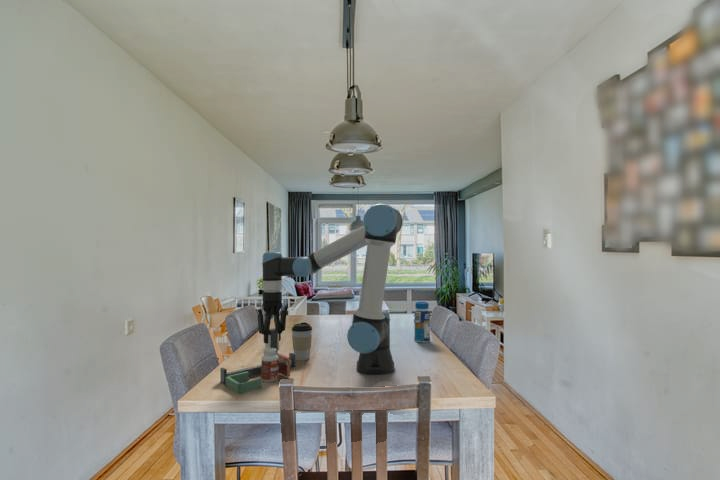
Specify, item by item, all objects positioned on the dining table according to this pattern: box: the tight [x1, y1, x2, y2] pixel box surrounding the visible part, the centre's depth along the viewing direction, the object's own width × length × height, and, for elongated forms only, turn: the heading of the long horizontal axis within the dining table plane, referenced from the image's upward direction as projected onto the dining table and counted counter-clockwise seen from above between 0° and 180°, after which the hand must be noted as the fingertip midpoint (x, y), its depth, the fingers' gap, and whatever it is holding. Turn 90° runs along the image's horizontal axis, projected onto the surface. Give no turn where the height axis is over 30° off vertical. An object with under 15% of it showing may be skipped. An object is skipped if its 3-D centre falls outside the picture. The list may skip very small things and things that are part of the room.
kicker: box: [269, 327, 291, 378], centre depth 150 cm, size 14×6×16 cm, turn 42°
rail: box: [219, 352, 296, 385], centre depth 150 cm, size 3×30×5 cm, turn 132°
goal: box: [224, 372, 263, 395], centre depth 136 cm, size 11×8×3 cm
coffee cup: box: [291, 322, 313, 361], centre depth 171 cm, size 9×9×15 cm
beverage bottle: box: [413, 301, 431, 344], centre depth 201 cm, size 8×8×20 cm
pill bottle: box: [260, 348, 280, 383], centre depth 143 cm, size 6×6×11 cm
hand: (272, 350), depth 153 cm, fingers closed on kicker, 3 cm apart
